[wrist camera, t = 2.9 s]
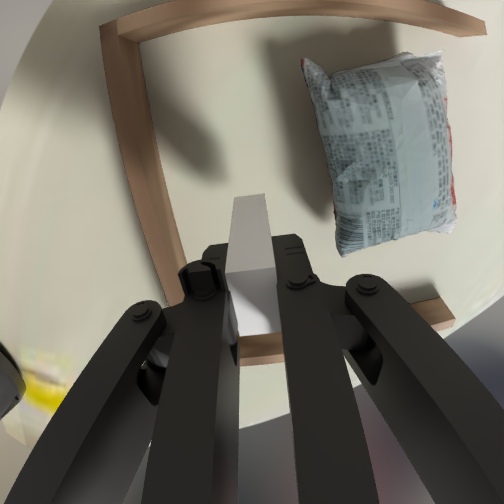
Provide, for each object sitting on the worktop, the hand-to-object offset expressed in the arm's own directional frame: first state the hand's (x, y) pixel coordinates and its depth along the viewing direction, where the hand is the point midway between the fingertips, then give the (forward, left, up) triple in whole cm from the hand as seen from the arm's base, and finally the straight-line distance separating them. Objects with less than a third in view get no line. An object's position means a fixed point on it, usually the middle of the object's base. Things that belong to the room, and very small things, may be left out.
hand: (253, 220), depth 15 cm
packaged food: (+10, -1, -5) cm, 11 cm away
